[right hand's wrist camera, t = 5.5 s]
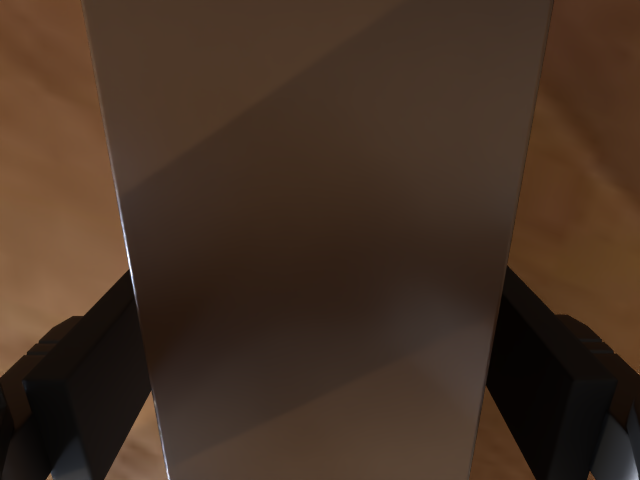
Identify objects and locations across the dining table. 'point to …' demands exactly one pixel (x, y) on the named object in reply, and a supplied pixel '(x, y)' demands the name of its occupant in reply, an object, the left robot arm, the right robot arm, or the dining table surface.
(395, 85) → the beam
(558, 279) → the dining table surface
